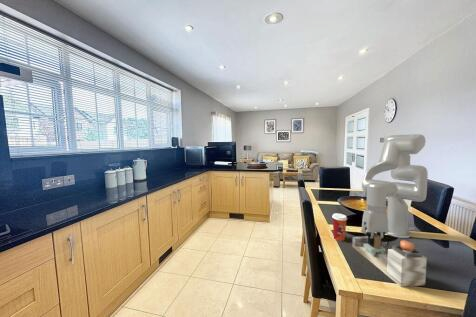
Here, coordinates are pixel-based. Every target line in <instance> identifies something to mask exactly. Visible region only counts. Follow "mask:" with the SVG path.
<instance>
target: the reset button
mask: <svg viewBox="0 0 476 317" xmlns="http://www.w3.org/2000/svg"><path fill="white" fill-rule="evenodd" d="M399 242H400V244H399V245H400V248H401V249H403V250H406V251H410V252H412V251H414V249H415V244H414V243H413V242H412V241H408V240H404V239H403V240H400V241H399Z"/></svg>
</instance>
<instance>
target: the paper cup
mask: <svg viewBox="0 0 476 317" xmlns="http://www.w3.org/2000/svg"><path fill="white" fill-rule="evenodd" d="M331 217H332V225H333V226H332V227H333V228H332V232H333V234H332V235H333V238H334V240H335V241H338V242H344V241H345V239H346V231H347V230H346V228H347V220H348V217H347V216H346V215H345V214H342V213H336V212H335V213H333V214H332V216H331Z"/></svg>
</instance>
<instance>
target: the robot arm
mask: <svg viewBox="0 0 476 317" xmlns="http://www.w3.org/2000/svg"><path fill="white" fill-rule="evenodd" d="M425 145H426V137H425V136H424V135H423V134H419V133H416V134H412V133H411V134H395V135H388V136H386V137H385V139H384V143H383V146H382V149H381V153H380V156H379V161H378V162H377V163H374V164H373V165H371V167H370V168H368V169H367V170H366V172H365V173H364V176H363V180H362V182H361V189H362V191H363V192H364V193H366V207H365V208H366V209H365V210H364V211H363V214H362V220H361V222H362V223H361V228H362V229H361V230H360V232H361V233H362V234H365V236H368V244H369V245H371V246H372V247H374V239H373V234H374V232H375V233H377V234H378V235H380V236H381V245H382V243H383V242H382V241H383V240H382V239H383V238H384V236H385V235H386V234H388V235H389V236H391V237H395V238H400V239H409V238H411V236H412V235H411V233H410V232H414V231H416V230H415V227H413V226H412V227H411V226H410V227H409V226H408V224H409V222H408V220H409V206H408V203H407V202H406V201H413V202H418V203H419V202H424V201H426V199H427V191H428V178H429V174H428V169H427V167H425V166H424V165H420V164H417V165H415V164H411V155H417V154H419V153H420V152H421V151H422V150H423V149H424V147H425ZM388 171H390V177H391V178H392V179H393V180H398V181H386V180H381V179H380V180H379V179H373V178H374V177H375V176H376V175H378V174H380V173H384V172H388ZM400 181H404V182H400ZM405 181H406V182H405ZM407 182H408V183H407ZM409 182H411V183H409ZM405 200H406V201H405ZM386 209H387V211H386Z"/></svg>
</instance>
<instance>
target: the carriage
mask: <svg viewBox="0 0 476 317" xmlns="http://www.w3.org/2000/svg"><path fill="white" fill-rule="evenodd" d="M373 239H374V247H372V246H371V245H369V244H364V247H365V250H366V251H367V252H369V253H370V254H371V255H373V256H375V254H376V252H379V253H381V254H382V255H383V254H384V253H385V252H386V247H384V246H382V244H381V236H380V235H378V234H377V233H376V232H374V234H373Z"/></svg>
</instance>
